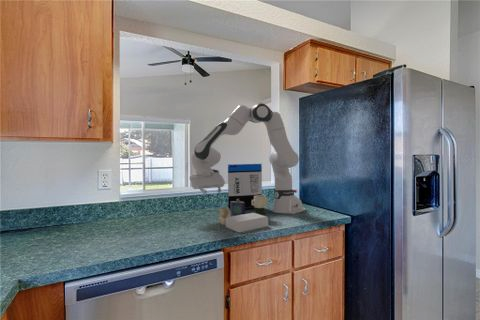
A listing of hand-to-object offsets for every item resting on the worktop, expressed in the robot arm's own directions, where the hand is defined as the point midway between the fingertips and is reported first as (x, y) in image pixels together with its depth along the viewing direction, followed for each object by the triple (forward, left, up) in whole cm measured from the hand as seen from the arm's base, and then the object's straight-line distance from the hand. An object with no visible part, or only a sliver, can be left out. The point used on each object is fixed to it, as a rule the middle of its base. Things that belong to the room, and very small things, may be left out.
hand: (212, 192), depth 154 cm
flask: (-14, +4, -15) cm, 21 cm away
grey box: (-6, +24, -15) cm, 29 cm away
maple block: (0, +12, -15) cm, 19 cm away
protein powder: (-32, -12, -15) cm, 37 cm away
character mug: (-22, +15, -15) cm, 31 cm away
